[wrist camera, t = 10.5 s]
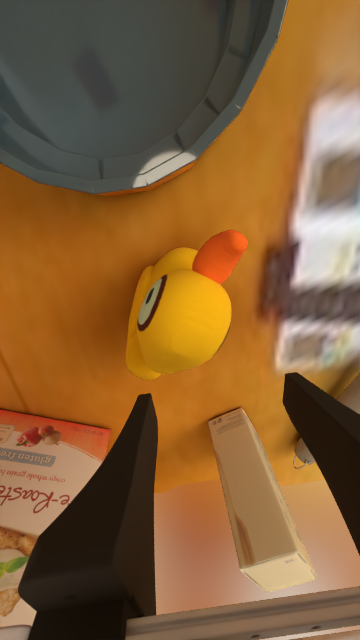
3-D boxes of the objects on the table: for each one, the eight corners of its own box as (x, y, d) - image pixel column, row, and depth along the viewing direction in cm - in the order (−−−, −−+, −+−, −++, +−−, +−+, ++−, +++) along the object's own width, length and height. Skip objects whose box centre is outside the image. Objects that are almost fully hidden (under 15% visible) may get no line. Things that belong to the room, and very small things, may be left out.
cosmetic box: (206, 419, 27) (235, 569, 16) (241, 404, 26) (298, 550, 15) (227, 451, 30) (265, 597, 19) (260, 438, 29) (320, 582, 18)
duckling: (175, 199, 17) (189, 198, 8) (237, 237, 18) (308, 272, 9) (114, 327, 21) (79, 420, 12) (169, 349, 22) (173, 448, 14)
